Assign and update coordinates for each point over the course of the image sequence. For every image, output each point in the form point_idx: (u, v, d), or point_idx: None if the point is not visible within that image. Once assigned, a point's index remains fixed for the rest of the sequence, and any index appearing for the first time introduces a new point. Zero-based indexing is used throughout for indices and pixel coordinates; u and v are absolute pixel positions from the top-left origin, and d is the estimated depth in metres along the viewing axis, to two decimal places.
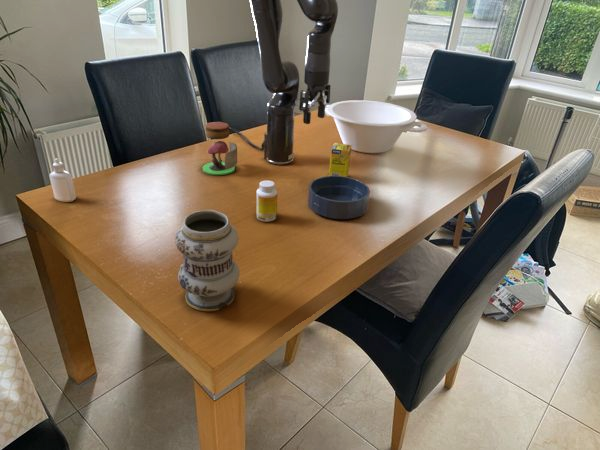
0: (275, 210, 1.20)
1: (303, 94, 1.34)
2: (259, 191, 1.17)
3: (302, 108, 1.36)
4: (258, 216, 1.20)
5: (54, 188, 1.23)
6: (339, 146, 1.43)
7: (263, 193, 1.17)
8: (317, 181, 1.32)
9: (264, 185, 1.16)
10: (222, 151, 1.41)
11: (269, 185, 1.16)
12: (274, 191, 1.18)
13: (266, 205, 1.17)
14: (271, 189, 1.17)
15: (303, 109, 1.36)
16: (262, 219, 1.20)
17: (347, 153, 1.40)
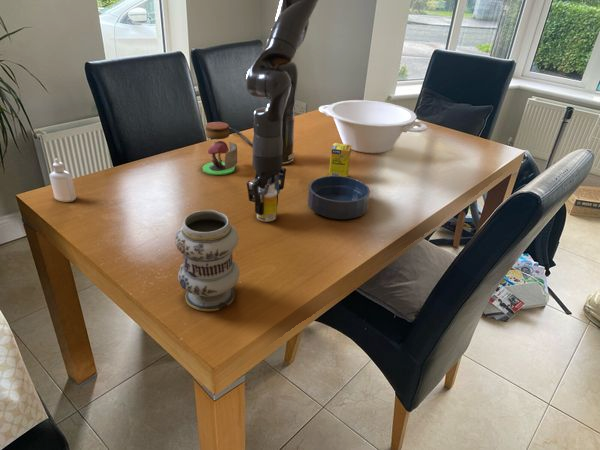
0: (275, 210, 1.20)
1: (250, 186, 1.12)
2: None
3: (252, 199, 1.14)
4: (258, 216, 1.20)
5: (54, 188, 1.23)
6: (339, 146, 1.43)
7: None
8: (317, 181, 1.32)
9: None
10: (222, 151, 1.41)
11: (269, 185, 1.16)
12: (274, 191, 1.18)
13: (266, 205, 1.17)
14: (271, 189, 1.17)
15: (253, 201, 1.14)
16: (262, 219, 1.20)
17: (347, 153, 1.40)
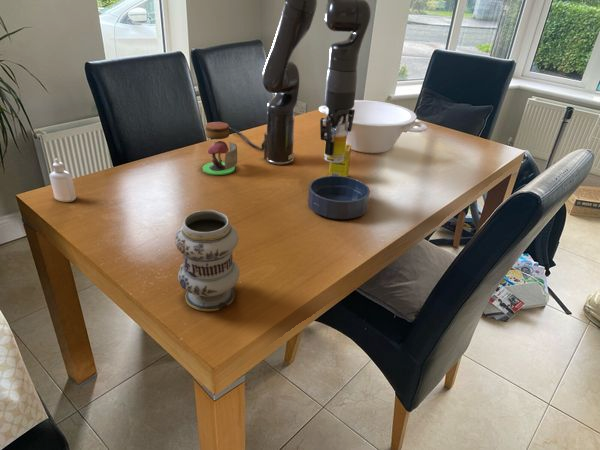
0: (344, 151, 1.19)
1: (324, 123, 1.11)
2: None
3: (324, 137, 1.14)
4: (327, 157, 1.20)
5: (54, 188, 1.23)
6: None
7: None
8: (317, 181, 1.32)
9: None
10: (222, 151, 1.41)
11: None
12: (344, 131, 1.17)
13: (336, 144, 1.17)
14: (342, 128, 1.16)
15: (325, 139, 1.14)
16: (331, 160, 1.19)
17: (347, 153, 1.40)
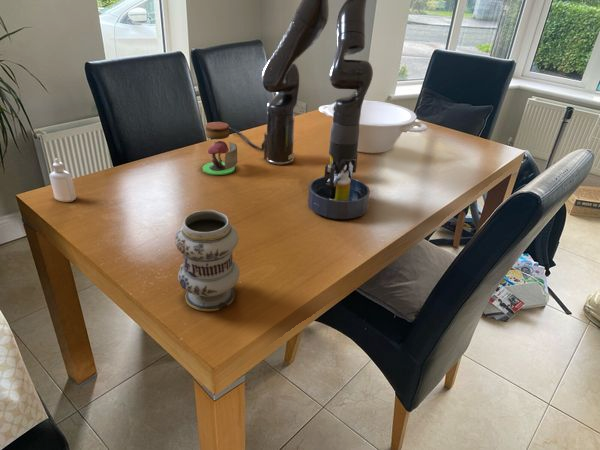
0: (348, 197, 1.27)
1: (328, 169, 1.18)
2: (334, 179, 1.25)
3: (327, 184, 1.20)
4: None
5: (54, 188, 1.23)
6: None
7: None
8: (317, 181, 1.32)
9: None
10: (222, 151, 1.41)
11: (344, 173, 1.24)
12: (348, 179, 1.25)
13: (341, 191, 1.25)
14: (346, 177, 1.24)
15: (328, 185, 1.20)
16: None
17: None
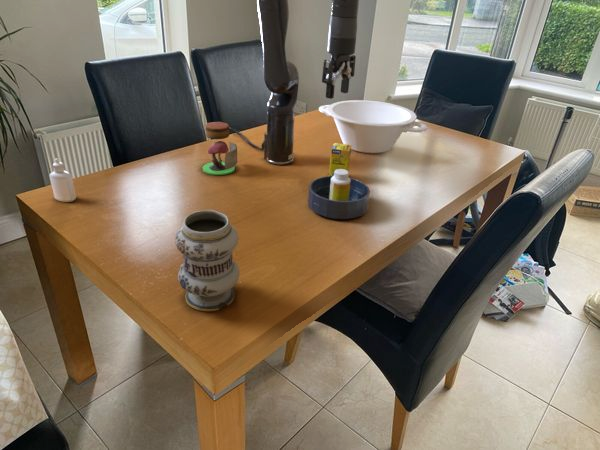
0: (348, 197, 1.27)
1: (327, 64, 1.20)
2: (334, 179, 1.25)
3: (325, 80, 1.22)
4: None
5: (54, 188, 1.23)
6: (339, 146, 1.43)
7: (338, 180, 1.24)
8: (317, 181, 1.32)
9: (339, 173, 1.24)
10: (222, 151, 1.41)
11: (344, 173, 1.24)
12: (348, 179, 1.25)
13: (341, 191, 1.25)
14: (346, 177, 1.24)
15: (326, 81, 1.22)
16: None
17: (347, 153, 1.40)
